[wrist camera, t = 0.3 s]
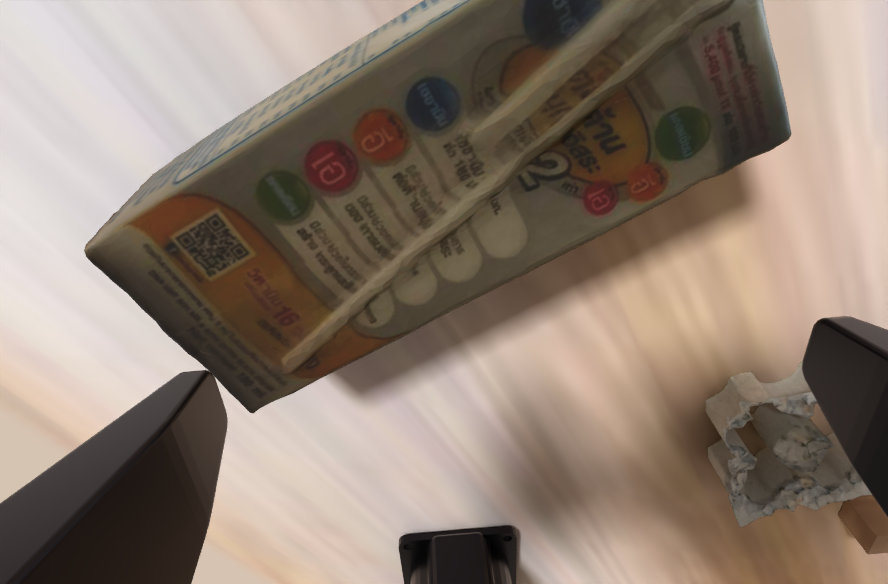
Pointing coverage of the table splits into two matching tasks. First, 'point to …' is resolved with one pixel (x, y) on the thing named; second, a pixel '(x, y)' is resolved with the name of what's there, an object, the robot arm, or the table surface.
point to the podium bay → (866, 523)
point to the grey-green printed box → (434, 174)
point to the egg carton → (777, 449)
